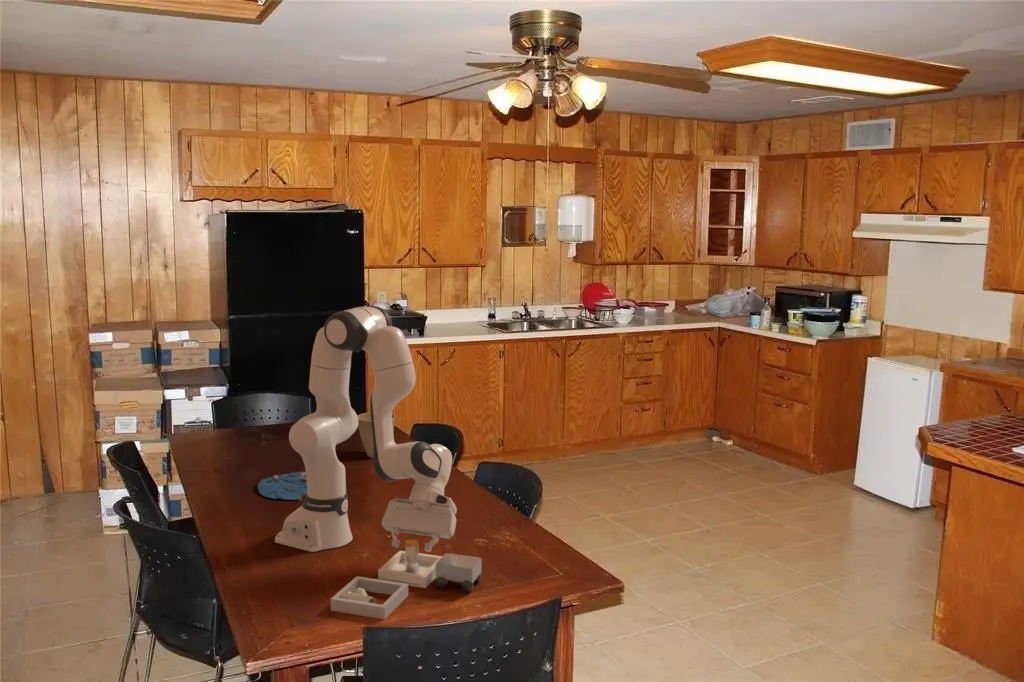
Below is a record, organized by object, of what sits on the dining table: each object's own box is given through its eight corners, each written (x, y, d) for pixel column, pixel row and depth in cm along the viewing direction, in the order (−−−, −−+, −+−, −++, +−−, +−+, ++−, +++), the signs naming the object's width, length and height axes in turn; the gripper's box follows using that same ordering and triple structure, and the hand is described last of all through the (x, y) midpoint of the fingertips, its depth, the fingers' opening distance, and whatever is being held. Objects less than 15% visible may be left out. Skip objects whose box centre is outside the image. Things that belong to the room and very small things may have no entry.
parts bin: (330, 610, 204) (330, 598, 203) (357, 587, 216) (356, 576, 216) (384, 619, 199) (384, 607, 199) (408, 595, 212) (408, 584, 212)
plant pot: (355, 451, 336) (354, 413, 334) (392, 449, 341) (391, 410, 338) (360, 462, 322) (359, 422, 320) (398, 459, 327) (398, 419, 324)
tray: (378, 580, 220) (378, 570, 220) (400, 560, 233) (399, 550, 232) (425, 588, 216) (425, 577, 216) (445, 567, 229) (445, 556, 228)
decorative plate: (354, 479, 308) (355, 465, 307) (329, 506, 278) (329, 491, 278) (276, 473, 310) (276, 459, 310) (243, 499, 281) (243, 484, 280)
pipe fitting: (355, 598, 211) (339, 607, 205) (356, 583, 211) (340, 592, 205) (382, 605, 208) (367, 614, 202) (383, 589, 208) (367, 599, 202)
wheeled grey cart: (435, 588, 216) (434, 564, 215) (455, 566, 230) (455, 543, 229) (471, 593, 213) (471, 569, 212) (489, 570, 227) (489, 548, 226)
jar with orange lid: (403, 572, 223) (402, 540, 222) (408, 567, 226) (408, 535, 225) (415, 574, 222) (415, 542, 221) (420, 569, 225) (420, 537, 224)
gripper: (387, 491, 231) (371, 538, 223) (456, 500, 225) (443, 548, 217) (394, 502, 236) (379, 548, 228) (462, 510, 230) (449, 558, 222)
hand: (411, 548), depth 223 cm, fingers open, 8 cm apart
